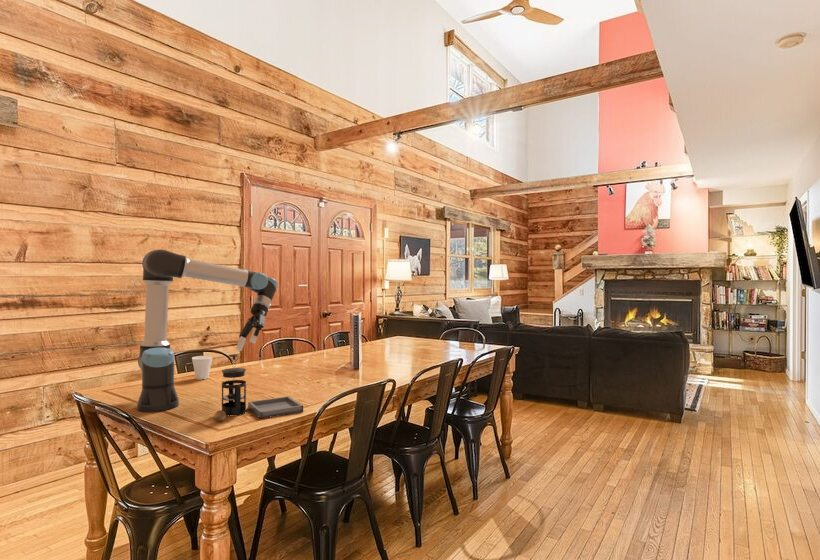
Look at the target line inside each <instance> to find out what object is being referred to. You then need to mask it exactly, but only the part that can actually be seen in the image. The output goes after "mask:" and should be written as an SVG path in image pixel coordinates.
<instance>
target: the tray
mask: <svg viewBox="0 0 820 560" xmlns="http://www.w3.org/2000/svg"><path fill="white" fill-rule="evenodd" d="M247 407H248V409H249V410H250V411H251V410H252V411H253V412H254V413H255V416H257V417H258V416H259V417H260V418H263V419H265V418H264V417H269V418H271V417H270V416H275V417H278V416H277V415H281V416H285V415H284V414H287V415H292V414H299V412H300V413H304V405H303V404H301V403H300V402H298V401H297V400H295V399H294V398H293V397H291V396H289V395H288V396H281V397H280V396H279V397H274V398H266V399H259V400H252V401H251V400H250V401H248V402H247ZM252 411H251V412H252ZM253 412H252V413H253ZM254 413H253V414H254ZM259 417H258V418H259ZM260 418H259V419H260Z"/></svg>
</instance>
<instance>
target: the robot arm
mask: <svg viewBox="0 0 820 560" xmlns="http://www.w3.org/2000/svg"><path fill="white" fill-rule="evenodd" d="M141 262H142V265H141V266H142V268H143V270H142V282H144V283H145V284H146V291H145V292H146V294H145V295H146V296H145V312H144V313H145V316H144V317H145V318H144V337H143V341H142V342H141V343H139V354H138V358H137V364H138V367H139V368H140V370H141V392H140V395H139V398H138V399H137V402H136V403H137V404H136V409H137V410H138V411H140V412H143V413H144V412H146V413H147V412H149V413H150V412H151V413H152V412H163V411H167V410H171V409H174V408H176V407H178V406H179V403H180V401H179V400H180V399H179V397H178V394H177V390H176V388H175V358H176V357H175V352H174V350H173V349H171V342H169V341H168V340H167V338H168V337H167V336H168V316H169V314H168V313H169V291H170V289H169V287H170V285H171V284H172V283H174V278H178V279H182V278H184V277H185V278H192V279H198V280H202V281H203V280H204V281H208V282H213V283H214V282H215V283H221V284H226V285H231V286H238V287H242V288H246V289H248V290H250V291H252V292H254V293H256V296H255V298H254V300H253V304H252V307H251V308H250V313H251V315H252V316H251V317H248V319H247V321H246V324H244V327H243V328H242V330H241V331H240V333H239V335H238V337H239V340H238V341H237V345H236V347H235V350H237V351H240V352H242V351H243V348H244V346H245V344H246V342H247V341H246V340H248V338H247V337H248V336H249V334H250V333H252V334H251V336H250V338H249V340H248V342H249V343H251V344H254V345H256V342H257V340H258V338H259V335H260V332H261V331H262V329H264V327H265V322H266V316H267V315H268V312H269V309H270V308H271V306H272V305H271V304H272V301H273V299H274V296H275V293H276V292H277V289H278V285H279V284H278V281H277V280H276V279H275V278H273V277H270V276H267V275H266V274H265V273H263V272H257V271H251V270H249V269H246V268H242V269H241V268H237V267H231V266H226V265H222V264H221V265H220V264H218V263H217V264H215V263H211V262H205V261H200V260H196V259H191V258H188V257H187V256H186V255H184V254H183V255H182V254H179V253H175V252H172V251H170V250H166V249H163V248H162V249H154V250H151V251H149V252H147V253H146V254H145V255H144V257H143V259H142V261H141ZM252 330H253V331H252ZM251 331H252V332H251Z"/></svg>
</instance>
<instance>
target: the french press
mask: <svg viewBox="0 0 820 560" xmlns="http://www.w3.org/2000/svg"><path fill="white" fill-rule="evenodd" d="M228 357H229V358H232V361H235V360H236V358H237V357H240V354H237V353H236V354H229V355H228ZM246 371H247V369H246V368H243V367H231V368H224V369H222V370H221V373H222V377H223V378H226V379H231V380H226V381H223V382H221V410H222V411H224V412H225V413H226V415H229V416H228V417H231V416H230V415H237V416H241V415H240V414H242V415H244V414H246V413H247V409H246V408H247V405H246V403H247V397H246V396H247V382H246V380H242V379H236V378H241V377H244V376H246V375H245V373H246ZM241 388H243V393H241V391H242V389H241ZM224 389H227V390H228V394H226V395H224ZM241 400H243V401H241ZM224 401H227V402H224ZM245 412H246V413H245ZM243 413H244V414H243Z"/></svg>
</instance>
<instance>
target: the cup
mask: <svg viewBox="0 0 820 560" xmlns="http://www.w3.org/2000/svg"><path fill="white" fill-rule="evenodd" d="M213 358H214V357H213V356H212V355H211V356H210V355H197V356H193V357H191V360H192V366H193V371H194V376H195V379H196V380H198V381H203V380H202V379H204V380H208V379H209V377H210V371H211V366H212V362H213V361H212V360H213ZM207 378H208V379H207Z"/></svg>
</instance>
